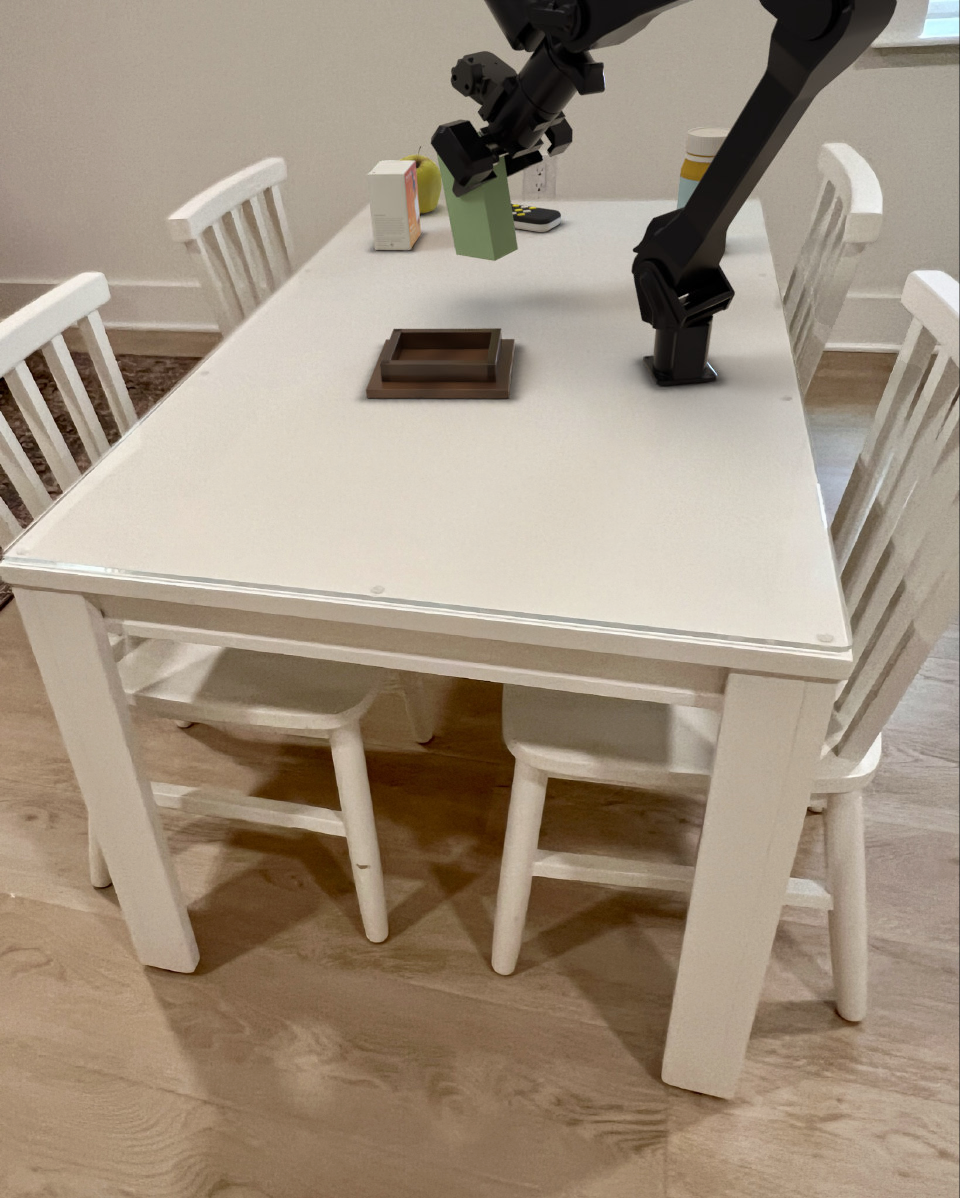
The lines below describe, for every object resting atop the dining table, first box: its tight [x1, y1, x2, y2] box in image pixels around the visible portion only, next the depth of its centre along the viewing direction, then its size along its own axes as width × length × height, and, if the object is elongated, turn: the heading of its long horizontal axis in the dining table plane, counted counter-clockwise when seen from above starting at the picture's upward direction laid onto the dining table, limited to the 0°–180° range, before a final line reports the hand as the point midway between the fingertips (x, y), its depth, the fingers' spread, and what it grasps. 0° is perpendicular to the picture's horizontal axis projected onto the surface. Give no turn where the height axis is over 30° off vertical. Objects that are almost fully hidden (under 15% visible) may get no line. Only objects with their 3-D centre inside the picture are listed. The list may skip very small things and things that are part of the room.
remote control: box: [511, 203, 562, 233], centre depth 138 cm, size 6×13×2 cm, turn 58°
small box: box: [365, 159, 422, 251], centre depth 130 cm, size 8×6×10 cm
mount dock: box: [365, 327, 516, 399], centre depth 97 cm, size 15×13×3 cm
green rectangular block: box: [436, 131, 519, 262], centre depth 105 cm, size 4×7×13 cm, turn 44°
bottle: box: [676, 126, 731, 210], centre depth 121 cm, size 7×7×15 cm
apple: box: [399, 145, 443, 214], centre depth 142 cm, size 8×8×10 cm
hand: (468, 189), depth 105 cm, fingers closed on green rectangular block, 4 cm apart
